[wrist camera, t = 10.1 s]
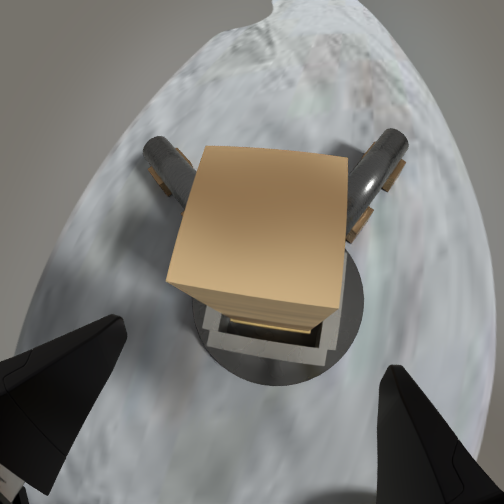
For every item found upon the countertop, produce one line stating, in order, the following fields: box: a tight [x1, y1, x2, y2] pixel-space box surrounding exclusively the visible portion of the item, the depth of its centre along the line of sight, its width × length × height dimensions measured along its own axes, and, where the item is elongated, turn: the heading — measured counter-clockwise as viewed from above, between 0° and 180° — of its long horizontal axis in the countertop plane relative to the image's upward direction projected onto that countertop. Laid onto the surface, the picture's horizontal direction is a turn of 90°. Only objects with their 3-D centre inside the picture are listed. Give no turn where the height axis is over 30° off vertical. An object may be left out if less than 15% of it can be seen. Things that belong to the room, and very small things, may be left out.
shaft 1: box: [143, 136, 197, 216], centre depth 21 cm, size 10×3×4 cm, turn 39°
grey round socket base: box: [193, 249, 364, 386], centre depth 18 cm, size 12×12×3 cm
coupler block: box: [166, 146, 348, 334], centre depth 13 cm, size 5×5×12 cm
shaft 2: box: [345, 128, 409, 243], centre depth 20 cm, size 10×3×4 cm, turn 139°
